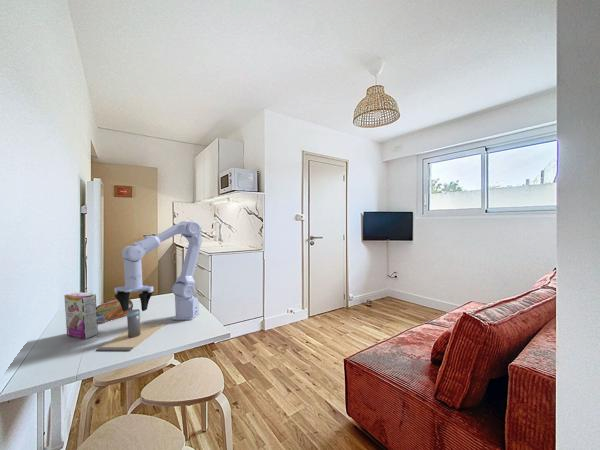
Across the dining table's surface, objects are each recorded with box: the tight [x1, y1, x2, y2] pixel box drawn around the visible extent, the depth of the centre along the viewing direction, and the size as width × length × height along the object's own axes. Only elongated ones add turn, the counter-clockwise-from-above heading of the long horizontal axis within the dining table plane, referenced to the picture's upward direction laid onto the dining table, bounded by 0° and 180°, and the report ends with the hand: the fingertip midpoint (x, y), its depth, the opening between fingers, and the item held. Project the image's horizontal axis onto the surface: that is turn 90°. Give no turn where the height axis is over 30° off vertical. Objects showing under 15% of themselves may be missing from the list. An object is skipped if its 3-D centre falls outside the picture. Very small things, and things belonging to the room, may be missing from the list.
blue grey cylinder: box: [126, 308, 141, 338], centre depth 97 cm, size 4×4×10 cm
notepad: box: [96, 323, 166, 352], centre depth 97 cm, size 12×21×1 cm, turn 177°
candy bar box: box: [63, 291, 99, 340], centre depth 98 cm, size 11×5×16 cm, turn 71°
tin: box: [96, 299, 134, 324], centre depth 115 cm, size 15×3×8 cm, turn 148°
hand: (135, 310), depth 99 cm, fingers open, 7 cm apart
